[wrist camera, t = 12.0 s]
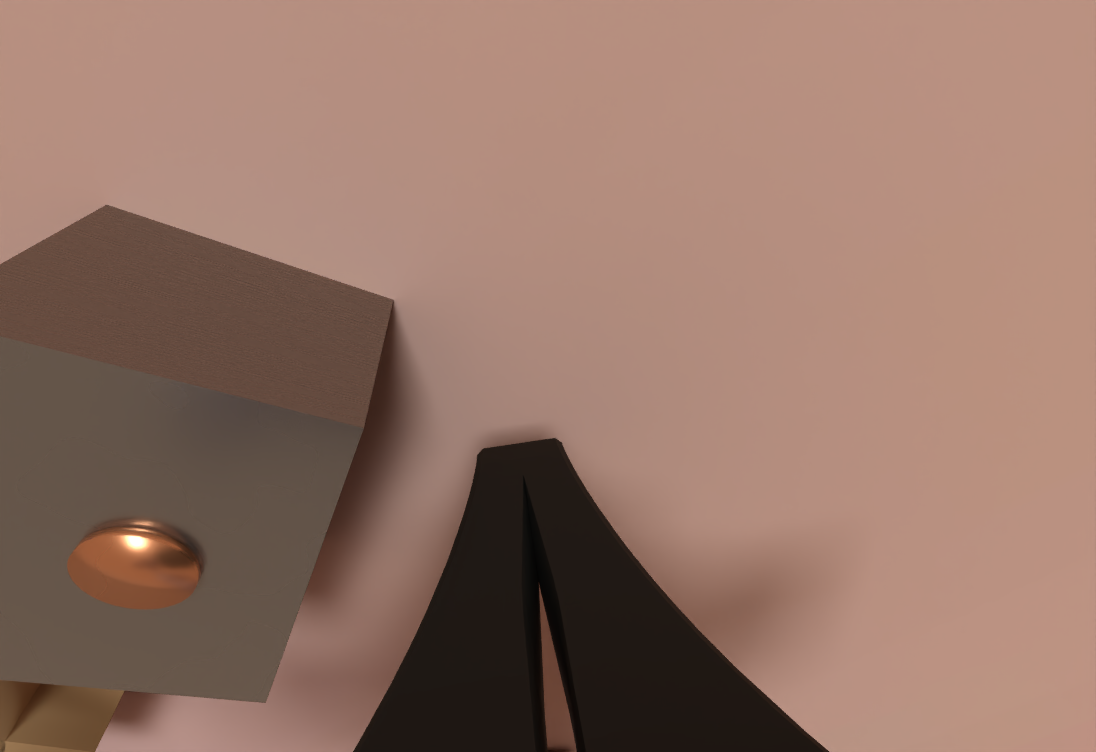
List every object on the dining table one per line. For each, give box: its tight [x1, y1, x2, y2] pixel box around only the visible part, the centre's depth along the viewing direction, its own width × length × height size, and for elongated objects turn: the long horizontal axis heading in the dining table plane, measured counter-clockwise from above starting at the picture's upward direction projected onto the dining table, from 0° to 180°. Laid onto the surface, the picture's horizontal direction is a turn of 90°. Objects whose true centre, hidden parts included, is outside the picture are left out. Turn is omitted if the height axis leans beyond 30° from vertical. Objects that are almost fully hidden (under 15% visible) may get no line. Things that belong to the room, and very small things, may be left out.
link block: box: [0, 205, 393, 703], centre depth 8 cm, size 6×4×4 cm, turn 155°
